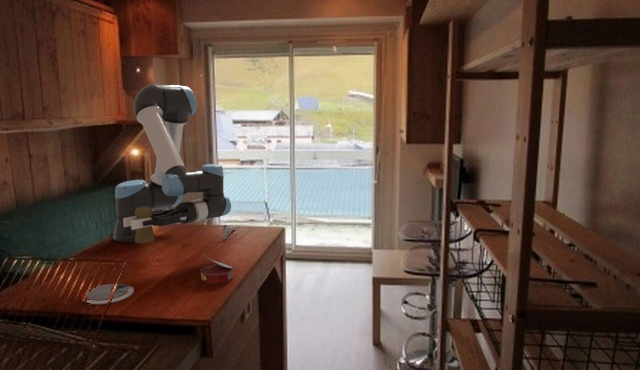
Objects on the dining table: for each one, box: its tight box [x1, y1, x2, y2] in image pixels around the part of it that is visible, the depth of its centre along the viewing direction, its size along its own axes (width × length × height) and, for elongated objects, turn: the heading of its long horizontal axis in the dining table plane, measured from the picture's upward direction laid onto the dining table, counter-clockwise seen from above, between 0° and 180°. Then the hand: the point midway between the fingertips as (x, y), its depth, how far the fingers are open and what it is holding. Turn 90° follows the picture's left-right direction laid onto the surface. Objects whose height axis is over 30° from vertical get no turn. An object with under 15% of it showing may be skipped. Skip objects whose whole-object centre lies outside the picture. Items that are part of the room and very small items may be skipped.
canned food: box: [200, 253, 234, 284], centre depth 148 cm, size 11×10×10 cm
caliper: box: [222, 224, 238, 241], centre depth 200 cm, size 20×1×6 cm, turn 177°
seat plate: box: [86, 283, 135, 306], centre depth 134 cm, size 14×14×1 cm
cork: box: [135, 207, 156, 244], centre depth 150 cm, size 6×6×11 cm
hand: (128, 223), depth 145 cm, fingers closed on cork, 4 cm apart
